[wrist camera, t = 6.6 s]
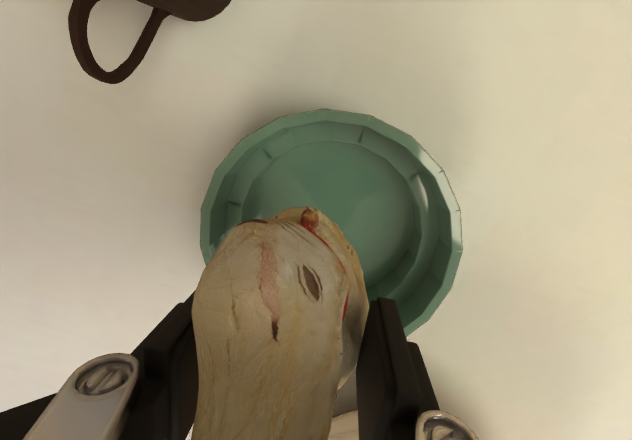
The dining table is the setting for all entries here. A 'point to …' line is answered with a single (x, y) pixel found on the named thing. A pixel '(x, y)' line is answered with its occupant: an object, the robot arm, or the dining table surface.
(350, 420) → the cream round dish
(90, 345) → the dining table surface
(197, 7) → the coffee mug
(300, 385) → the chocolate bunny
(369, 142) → the bowl
